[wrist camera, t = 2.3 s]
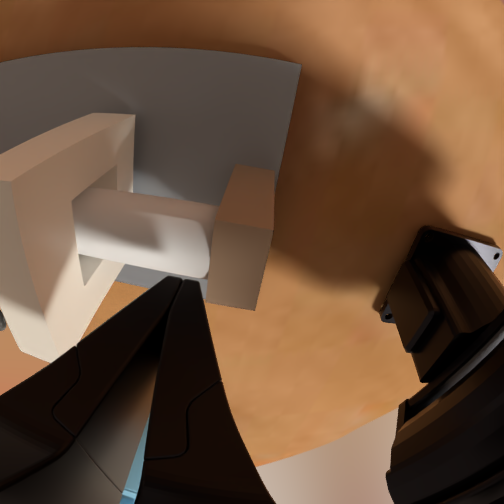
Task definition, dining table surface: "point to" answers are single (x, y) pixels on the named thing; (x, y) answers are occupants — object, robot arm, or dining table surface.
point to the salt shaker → (2, 321)
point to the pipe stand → (170, 157)
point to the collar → (57, 229)
